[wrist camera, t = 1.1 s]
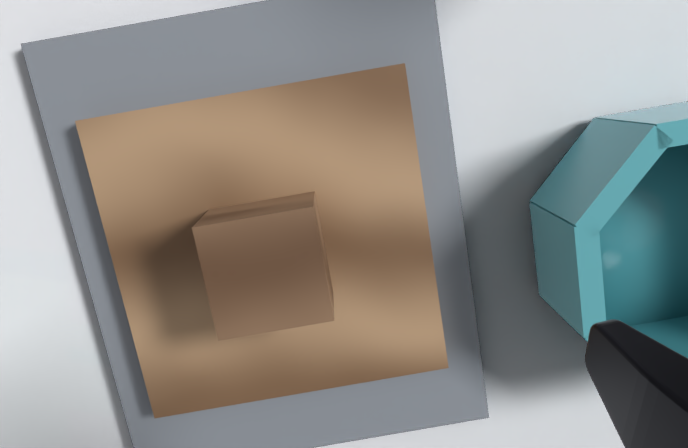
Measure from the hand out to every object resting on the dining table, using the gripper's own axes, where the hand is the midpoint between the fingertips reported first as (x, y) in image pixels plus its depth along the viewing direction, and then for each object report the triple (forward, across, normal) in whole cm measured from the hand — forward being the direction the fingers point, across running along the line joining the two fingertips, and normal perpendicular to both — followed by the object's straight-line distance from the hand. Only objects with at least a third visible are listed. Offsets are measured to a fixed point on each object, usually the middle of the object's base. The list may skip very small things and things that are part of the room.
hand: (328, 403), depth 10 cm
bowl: (+11, -14, +8) cm, 20 cm away
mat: (+14, +1, +6) cm, 15 cm away
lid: (+13, +1, +6) cm, 14 cm away
